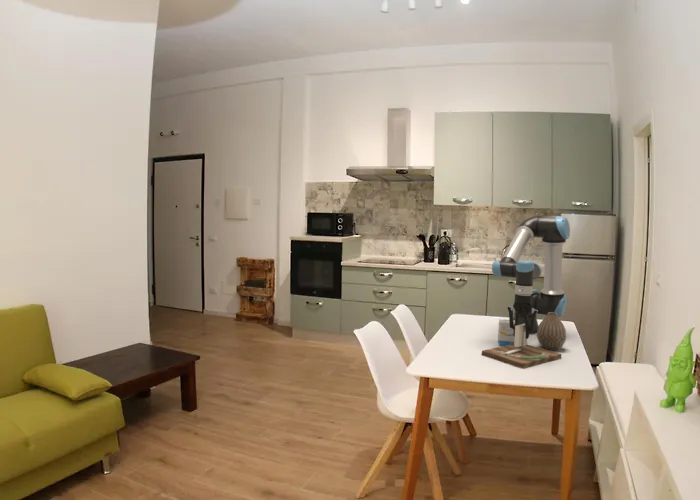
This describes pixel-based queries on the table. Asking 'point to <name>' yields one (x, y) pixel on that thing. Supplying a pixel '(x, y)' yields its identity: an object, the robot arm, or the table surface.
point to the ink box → (505, 333)
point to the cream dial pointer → (518, 339)
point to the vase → (551, 332)
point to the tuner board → (521, 355)
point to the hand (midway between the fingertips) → (520, 344)
